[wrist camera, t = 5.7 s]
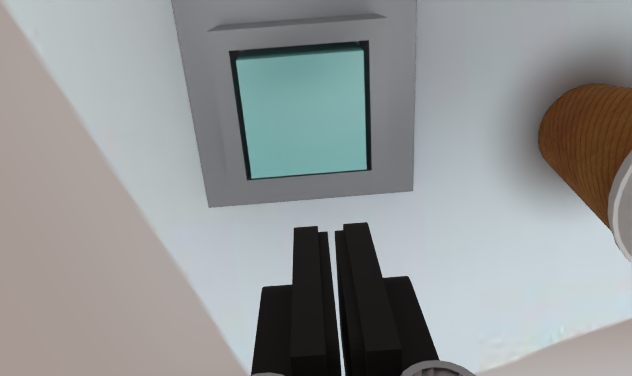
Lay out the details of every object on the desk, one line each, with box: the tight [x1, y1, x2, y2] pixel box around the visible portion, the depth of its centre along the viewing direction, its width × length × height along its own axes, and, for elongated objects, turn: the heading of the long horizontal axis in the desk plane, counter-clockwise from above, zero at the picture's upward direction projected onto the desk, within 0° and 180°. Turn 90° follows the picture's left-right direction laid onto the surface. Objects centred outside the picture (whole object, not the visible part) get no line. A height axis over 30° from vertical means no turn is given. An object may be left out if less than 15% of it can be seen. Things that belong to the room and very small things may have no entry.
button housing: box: [171, 0, 417, 208], centre depth 27 cm, size 14×14×5 cm
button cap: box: [236, 42, 367, 178], centre depth 26 cm, size 6×6×4 cm
